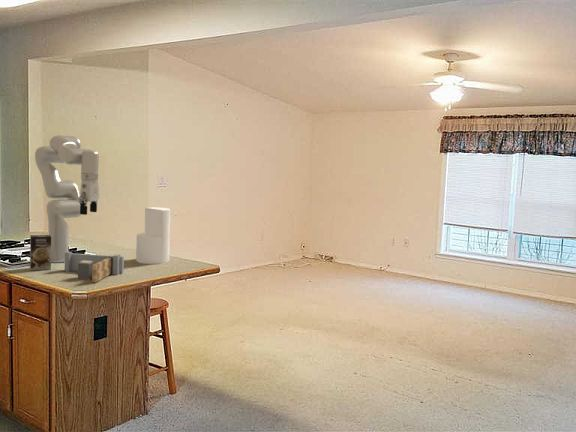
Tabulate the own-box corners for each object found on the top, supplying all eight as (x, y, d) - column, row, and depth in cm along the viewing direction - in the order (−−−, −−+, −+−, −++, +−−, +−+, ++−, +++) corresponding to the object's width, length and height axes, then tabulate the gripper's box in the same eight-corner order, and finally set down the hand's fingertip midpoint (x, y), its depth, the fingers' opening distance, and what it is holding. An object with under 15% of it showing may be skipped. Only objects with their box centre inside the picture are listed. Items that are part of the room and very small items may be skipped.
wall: (62, 271, 262) (62, 252, 261) (67, 269, 266) (67, 250, 265) (119, 275, 260) (120, 256, 259) (123, 273, 264) (123, 254, 263)
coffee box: (30, 270, 260) (30, 236, 258) (29, 268, 266) (29, 234, 264) (51, 269, 264) (51, 236, 262) (50, 267, 270) (50, 234, 268)
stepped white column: (157, 256, 309) (158, 206, 306) (175, 261, 297) (177, 209, 294) (130, 259, 297) (130, 207, 294) (147, 265, 285) (148, 211, 282)
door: (109, 272, 262) (109, 256, 261) (113, 273, 262) (113, 256, 261) (91, 282, 242) (92, 264, 241) (95, 282, 241) (96, 264, 241)
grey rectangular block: (88, 279, 248) (88, 262, 247) (77, 278, 248) (78, 262, 248) (93, 277, 253) (93, 260, 252) (82, 276, 253) (83, 260, 253)
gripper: (88, 178, 250) (87, 216, 252) (105, 176, 267) (104, 211, 269) (72, 177, 250) (71, 214, 253) (90, 175, 267) (89, 210, 270)
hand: (88, 213), depth 261 cm, fingers open, 9 cm apart
